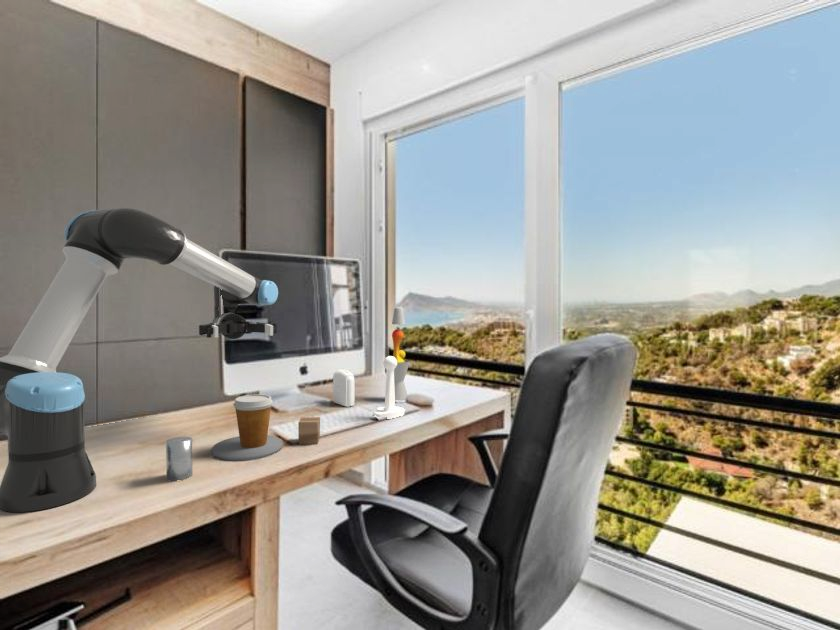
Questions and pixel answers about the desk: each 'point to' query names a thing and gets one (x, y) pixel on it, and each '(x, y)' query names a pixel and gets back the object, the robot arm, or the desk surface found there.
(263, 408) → the disposable coffee cup
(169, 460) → the chrome cylinder
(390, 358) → the joystick
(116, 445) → the desk surface
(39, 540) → the desk surface
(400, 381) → the lava lamp
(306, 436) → the walnut block
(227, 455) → the round gray coaster
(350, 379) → the photo printer
